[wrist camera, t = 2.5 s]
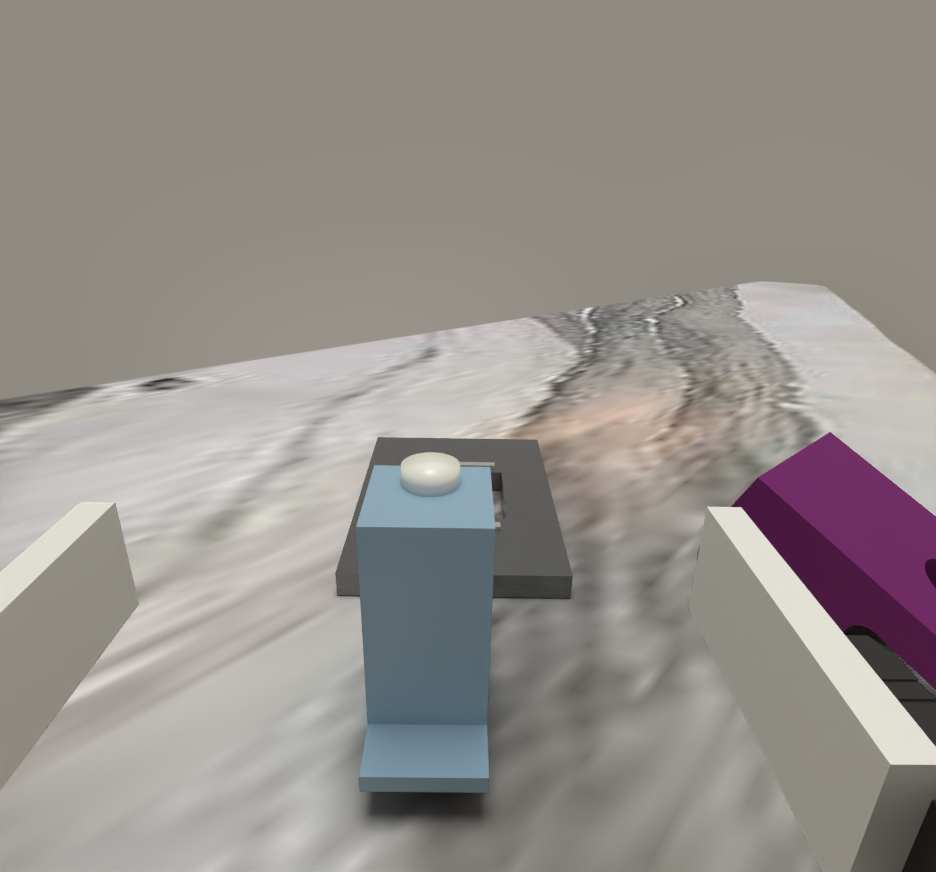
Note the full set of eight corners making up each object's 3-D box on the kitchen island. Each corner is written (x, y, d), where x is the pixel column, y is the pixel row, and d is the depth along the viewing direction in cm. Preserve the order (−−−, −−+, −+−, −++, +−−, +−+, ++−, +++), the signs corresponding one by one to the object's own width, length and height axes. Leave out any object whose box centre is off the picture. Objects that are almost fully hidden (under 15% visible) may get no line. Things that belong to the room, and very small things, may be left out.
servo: (487, 820, 25) (499, 548, 20) (361, 819, 25) (342, 546, 20) (481, 644, 35) (488, 427, 29) (389, 643, 34) (380, 425, 29)
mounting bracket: (996, 749, 36) (747, 516, 44) (1145, 684, 31) (830, 431, 39) (949, 858, 30) (672, 568, 38) (1122, 802, 25) (757, 476, 33)
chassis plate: (570, 598, 38) (572, 573, 38) (337, 595, 38) (335, 570, 37) (536, 456, 57) (537, 437, 56) (378, 453, 57) (377, 435, 56)
